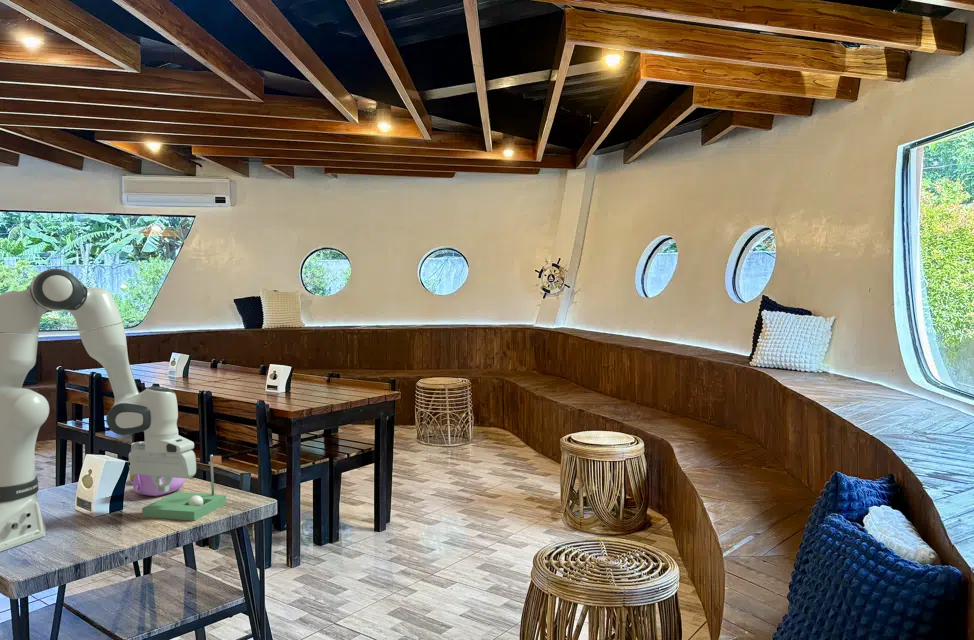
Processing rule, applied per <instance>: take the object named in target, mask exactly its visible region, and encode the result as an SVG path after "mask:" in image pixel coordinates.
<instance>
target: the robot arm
mask: <svg viewBox="0 0 974 640" xmlns="http://www.w3.org/2000/svg"><path fill="white" fill-rule="evenodd" d="M58 311H59V312H60V311H66V312H68V313H70V314H71V315H72V316H73V318H74V320H75V323H76V326H77V329H78V332H79V337H80V340H81V342H82V345H83V347H84V348H85V351H86V352H87V354H88V355H89V357H91V358H92V359H94V360H95V361H97V362H98V363H99V364H100V365H101V366H102V367H103V369H104V370H105V372H106V375H107V378H108V381H109V384H110V386H111V390H112V392H113V396H114V404H113V406H111V408H110V409H109V410H108V412H107V414H106V418H105V419H106V424H107V427H108V429H109V430H111V432H113V434H116V435H120V436H129V435H133V434H137V433H141V432H143V433H144V441H136V442H133V443H134V444H133V445H132V446H131V448H130V452H131V456H130V465H129V464H128V468H129V469H128V470H130V472H131V474H137V475H149V476H153V481H154V483H155V485H156V490H157V491H161V492H167V491H169V485H170V483H171V481H172V479H173V478H185V480H186V479H190V478H193V477H195V475H196V473H197V458H196V453H195V452H194V450H193V449H194V448H195V443H194V441H192V440H190V439H188V438H186V437H183V436H181V435H179V429H178V419H179V410H178V409H179V408H178V400H177V395H176V393H175V391H174V390H172V389H171V388H169V387H164V386H157V385H156V386H149V387H148V386H147V387H146V388H145V389H144V390H142V391H141V392H140V390H139V389H138V386H137V384H136V381H135V377H134V373H133V371H132V368H131V366H130V365H131V364H130V361H129V354H128V345H127V343H128V342H127V336H126V331H125V326H124V323H123V319H122V316H121V314H120V310H119V308H118V306H117V304H116V301H115V300H114V298H113V296H112V294H111V293H110V291H108V290H107V289H105V288H103V287H102V288H101V287H89V288H88V287H87V286H85V284H83V283H82V282H81V281H80V280H79V279H78V278H77V277H76V276H75V275H74V274H72V273H71V272H69V271H68V270H65V269H61V268H49V269H47V270H43V271H41V272H40V273H38V274H37V275H36V276H35V277H34V279H32V281H31V283H30V284H29V286H27V288H26V289H25V290H23V291H21V290H19V291H18V290H10V291H6V292H3V293H1V294H0V552H3V551H6V550H10V549H12V548H15V547H18V546H20V545H23V544H25V543H29V542H31V541H35V540H37V539H40V538H43V537H45V536H46V535H47V533H46V530H47V526H46V524H45V522H44V519H43V515H42V511H41V506H40V503H39V497H38V491H40V490H39V479H38V477H37V476H36V456H35V455H36V454H35V453H36V452H35V449H36V443H37V438H38V434H39V431H40V428H41V427H42V425H44V423H45V422H46V421H47V419H48V417H49V414H50V404H49V402H48V400H47V398H46V397H45V396H43V394H40V393H38V392H37V391H34V390H32V389H30V388H24V387H23V384H24V382H25V380H26V377H27V375H28V373H29V372H30V370H32V369H33V368H34V366H36V363H37V355H38V344H39V332H40V331H39V330H40V323H41V319H42V316H43V315H44V314H45V313H49V312H58ZM130 472H129V473H130ZM162 477H163V480H165V482H164V484H162V481H161V479H160V478H162Z"/></svg>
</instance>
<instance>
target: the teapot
mask: <svg viewBox="0 0 974 640" xmlns="http://www.w3.org/2000/svg"><path fill="white" fill-rule="evenodd" d="M160 479H161V481H162V484H164V482H165V480H163V477H162V478H160ZM185 481H186V479H185V478H173V479H172V481H171V483H170V485H169V491H167V492H161V491H157V490H156V485H155V483H154V481H153V476H149V475H137V474H134V482H133V484H132V488H133V491H134V492H135V493H136V494H138V495H142V496H149V497H150V496H153V497H162V496H163V495H167V494H171V493H172V492H173V493H174V492H178V490H180V489H181V488H182V487H183V486H184V483H185Z"/></svg>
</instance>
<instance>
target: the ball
mask: <svg viewBox="0 0 974 640" xmlns="http://www.w3.org/2000/svg"><path fill="white" fill-rule="evenodd" d="M188 504H189V506H202V505H203V499H202V497H200V496H198V495H196V496H193V497H191V498H190V500H189V502H188Z"/></svg>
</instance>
